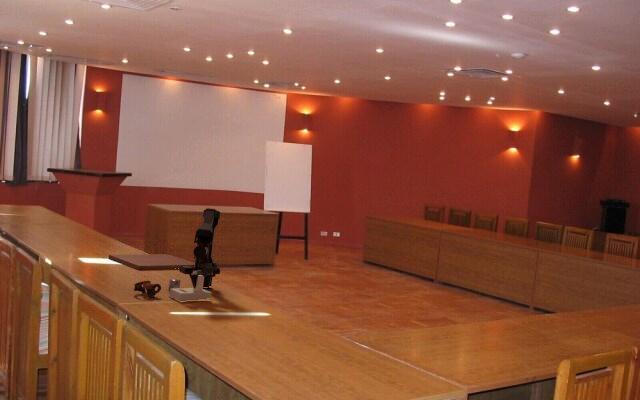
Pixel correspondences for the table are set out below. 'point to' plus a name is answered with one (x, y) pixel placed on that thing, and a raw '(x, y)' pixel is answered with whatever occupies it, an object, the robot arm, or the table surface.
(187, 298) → the socket block
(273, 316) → the table surface
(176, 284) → the round dowel
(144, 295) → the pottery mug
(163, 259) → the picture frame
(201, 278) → the square peg
